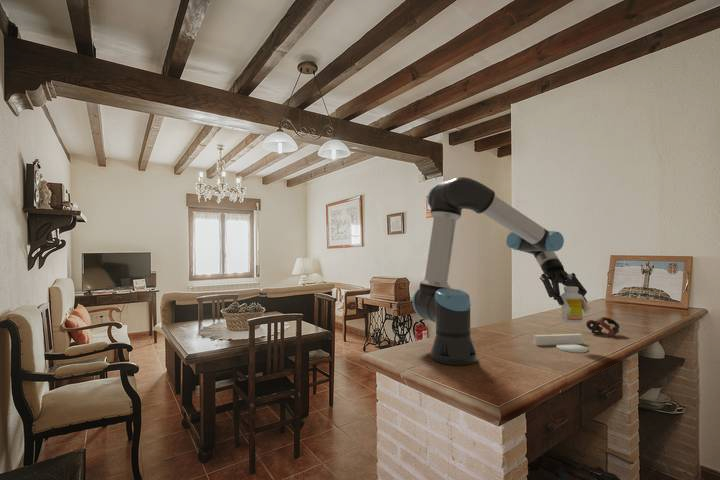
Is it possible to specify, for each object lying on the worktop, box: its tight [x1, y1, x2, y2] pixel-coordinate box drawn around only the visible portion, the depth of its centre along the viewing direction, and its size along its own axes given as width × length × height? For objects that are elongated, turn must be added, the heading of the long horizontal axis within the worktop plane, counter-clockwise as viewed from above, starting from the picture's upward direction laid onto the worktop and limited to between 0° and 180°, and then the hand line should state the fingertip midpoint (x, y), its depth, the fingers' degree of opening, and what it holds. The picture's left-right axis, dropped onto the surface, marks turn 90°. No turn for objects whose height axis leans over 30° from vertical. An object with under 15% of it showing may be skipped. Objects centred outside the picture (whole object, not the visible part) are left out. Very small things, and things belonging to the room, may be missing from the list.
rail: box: [532, 333, 584, 346], centre depth 140 cm, size 19×2×4 cm, turn 94°
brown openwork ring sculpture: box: [585, 316, 620, 338], centre depth 154 cm, size 12×10×8 cm
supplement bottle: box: [560, 286, 583, 324], centre depth 134 cm, size 7×7×13 cm
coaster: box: [555, 343, 589, 354], centre depth 133 cm, size 10×10×1 cm
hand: (578, 311), depth 130 cm, fingers closed on supplement bottle, 7 cm apart
